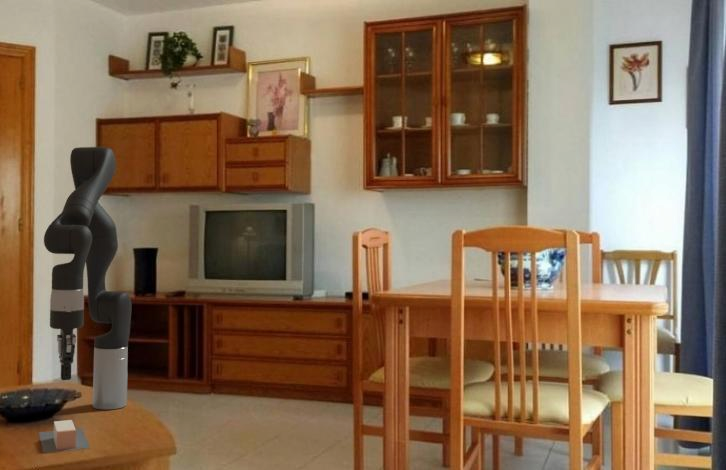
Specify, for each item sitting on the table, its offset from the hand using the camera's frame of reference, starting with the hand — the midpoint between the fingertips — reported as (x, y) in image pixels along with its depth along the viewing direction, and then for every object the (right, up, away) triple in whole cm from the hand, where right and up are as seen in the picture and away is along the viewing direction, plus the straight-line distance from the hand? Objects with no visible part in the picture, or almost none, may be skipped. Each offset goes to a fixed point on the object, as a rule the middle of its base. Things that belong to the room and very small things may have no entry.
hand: (65, 379), depth 170 cm
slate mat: (0, -15, -1) cm, 15 cm away
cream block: (-1, -12, +1) cm, 12 cm away
